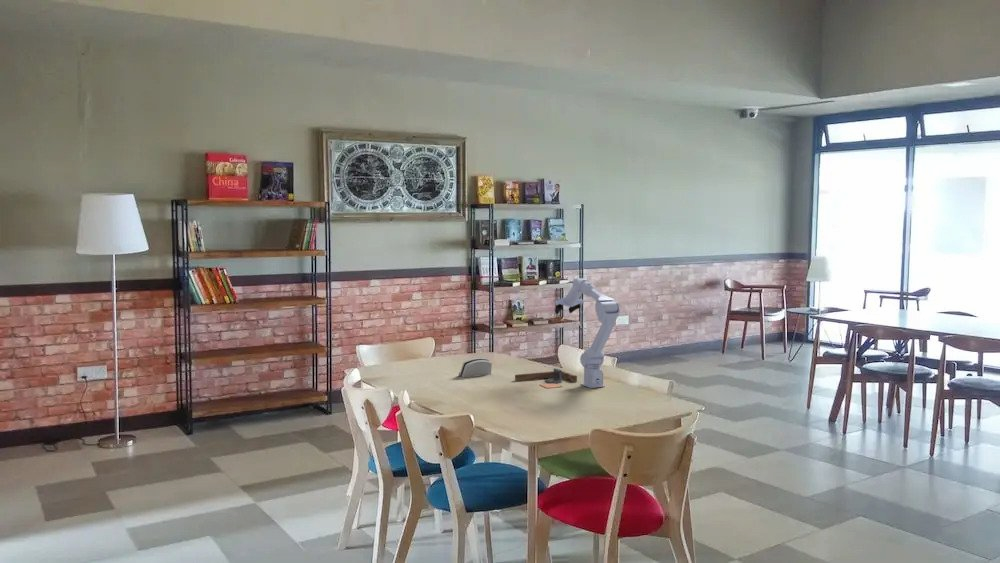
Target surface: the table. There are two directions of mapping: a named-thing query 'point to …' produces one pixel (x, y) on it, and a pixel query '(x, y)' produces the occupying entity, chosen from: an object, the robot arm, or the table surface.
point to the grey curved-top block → (475, 367)
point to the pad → (550, 385)
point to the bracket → (555, 377)
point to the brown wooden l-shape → (544, 376)
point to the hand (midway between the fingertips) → (563, 311)
